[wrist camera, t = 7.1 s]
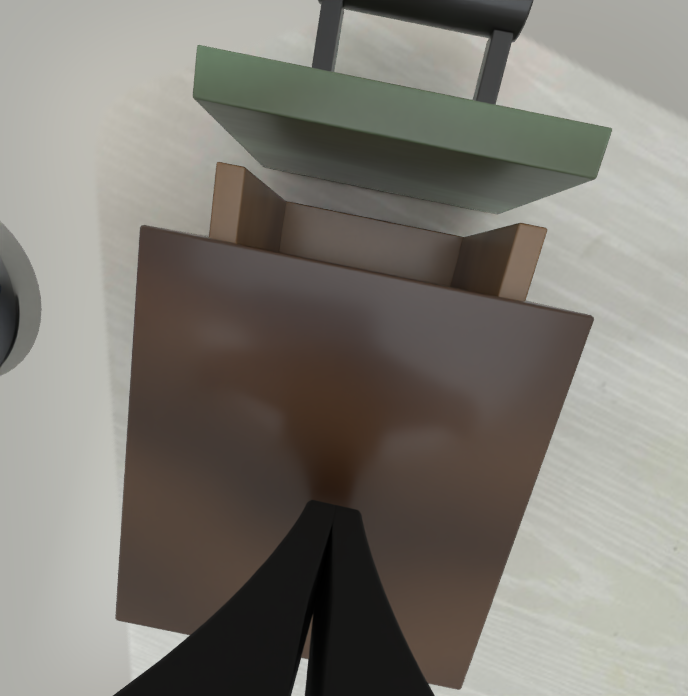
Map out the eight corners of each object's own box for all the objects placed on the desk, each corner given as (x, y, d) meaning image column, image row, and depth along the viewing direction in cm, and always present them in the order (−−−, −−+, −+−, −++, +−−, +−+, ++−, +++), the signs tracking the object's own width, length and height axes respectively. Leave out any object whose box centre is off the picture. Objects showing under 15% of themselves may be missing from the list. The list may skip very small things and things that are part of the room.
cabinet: (245, 242, 17) (138, 224, 9) (483, 291, 17) (596, 316, 9) (215, 474, 20) (113, 621, 12) (420, 515, 20) (461, 692, 12)
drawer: (281, 22, 15) (215, -179, 8) (537, 74, 15) (684, -83, 8) (233, 388, 18) (159, 459, 12) (438, 429, 18) (482, 525, 12)
